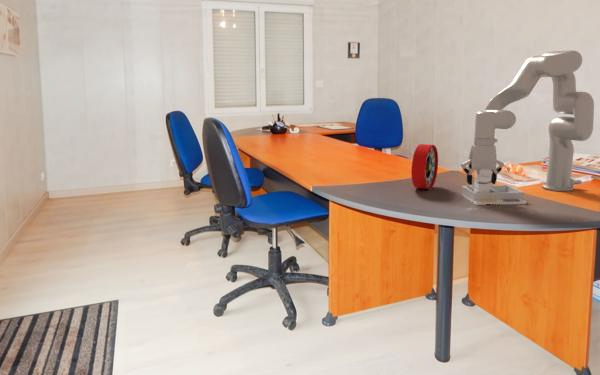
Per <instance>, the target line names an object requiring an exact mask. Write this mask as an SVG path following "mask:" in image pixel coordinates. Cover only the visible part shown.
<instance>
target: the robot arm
mask: <svg viewBox="0 0 600 375" xmlns="http://www.w3.org/2000/svg"><path fill="white" fill-rule="evenodd" d="M582 63H583V56H582V54H581V53H580V52H579V51H577V50H557V51H556V50H555V51H547V52H545V53H543V54H542V55H533V56H530V57H528V58H527V59H526V60H525V61H524V63H523V64H522V66H521V67H520V68H519V70H518V72H517V73H516V75H515V76H514V77H513V80H512V81H511V83H510V84H509V85H508V86H507V87H505V88H504V89H502V90H501V91H500V92H499V93H497V94H495V95H494V96H493V97H492V98H491V99H490V100H489V102H488V103H487V105H486V106H485V108H484V110H479V111H477V112H476V113H475V123H474V124H475V125H474V140H473V144H471V148H470V151H469V157H468V160H466V161H464V162H462V163H461V164H460V166H461V169H462V171H463V172H464V173H465V174H466V182H467V184H468V185H469V186H472V185H473V175H472V174H473V173H474V172H475V171H476V170H480V169H491V170H492V178H491V184H492V185H496V183H497V179H498V174H499V173H500V172H501V171H502V169H503V168H504V166H505V163H504V162H502V161H501V160H498V159H497V149H496V145H495V143H498V139H497V138H495V136H496V135H495V133H496V132H495V131H496V129H500V130H508V129H511V128H512V127H513V126H515V124H516V122H517V117H516V115H515V113H514V112H513V111H511V110H507V109H505V108H506V107H508V106H509V105H511V104H513V103H515V102H518V101H521V100H524V99H526V98H528V96H530V94H531V93H532V92H533V89H534V88H535V86H536V85H537V84H538V82H539V80H540V79H541V78H550V79H551V80H552V106H553V111H555V112H556V113H557V114H560V115H571V116H557V117H555V118H553V119H552V120H551V121H550V122H549V125H548V135H549V147H548V151H549V152H548V159H547V169H546V181H545V183H542V184H541V188H543V189H545V190H548V191H555V192H572V191H574V189H575V185H582V180H581V179H574V178H572V171H573V162H574V161H573V160H574V154H575V149H574V144H573V141H576V142H585V141H587V140H589V139H590V138H591V136H592V135H593V134H592V133H593V130H594V116H595V114H594V113H595V102H594V98H593V96H592V95H591V94H590V93H589V92H587V91H577V82H576V81H577V80H576V76H575V73H574V72H576V71H578V70H579V69H580V68H581V66H582V65H583V64H582ZM572 115H573V116H572ZM497 164H498V166H497ZM467 166H468V168H467Z"/></svg>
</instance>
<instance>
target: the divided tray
mask: <svg viewBox="0 0 600 375" xmlns="http://www.w3.org/2000/svg"><path fill="white" fill-rule="evenodd" d="M524 194H525V192H524V191H522V190H520V189H518V188H516V187H513V186H512V185H510V184H491V188H490V192H487V193H475V192H474V185H461V196H462V197H463V198H465V199H467V200H468V201H469V200H470V201H469V202H471V203H472V202H473V203H472V204H474V205H475V204H476V206H487V205H486V204H491V206H493V205H492V204H494V206H495V204H496V205H497V204H498V205H499V204H500V205H527V200H525V199H524ZM498 205H497V206H498Z"/></svg>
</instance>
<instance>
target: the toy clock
mask: <svg viewBox="0 0 600 375" xmlns="http://www.w3.org/2000/svg"><path fill="white" fill-rule="evenodd" d="M438 167H439V154H438V149H437V147H436V145H434V144H428V143H427V144H425V143H419V144H418V145H417V146H416V147H415V150H414V153H413V156H412V161H411V170H410V172H411V182H412V185H413V187H414V188H415V189H419V190H420V189H422V190H431V189H433V187H434V185H435V183H436V179H437V176H438V169H439V168H438Z"/></svg>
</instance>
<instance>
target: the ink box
mask: <svg viewBox="0 0 600 375" xmlns="http://www.w3.org/2000/svg"><path fill="white" fill-rule="evenodd" d="M474 172H475V174H474V185H473V186H474V192H475V193H487V192H490V188H491V185H492V183H491V178H492V170H491V169H480V170H475V171H474Z"/></svg>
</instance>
